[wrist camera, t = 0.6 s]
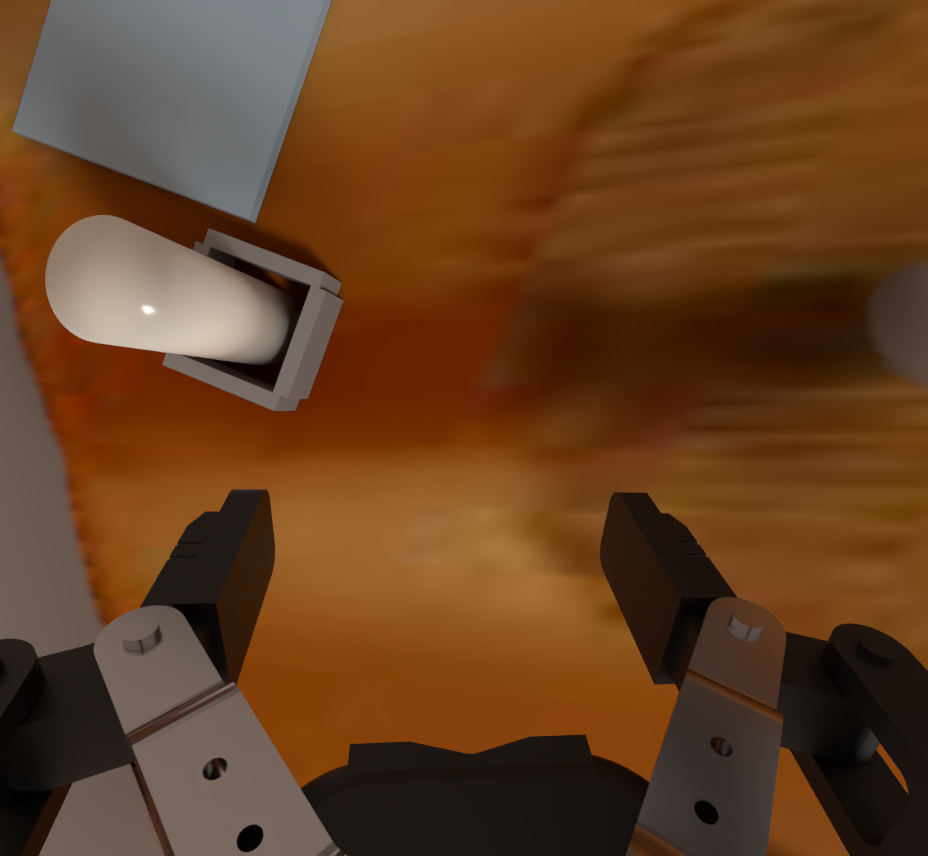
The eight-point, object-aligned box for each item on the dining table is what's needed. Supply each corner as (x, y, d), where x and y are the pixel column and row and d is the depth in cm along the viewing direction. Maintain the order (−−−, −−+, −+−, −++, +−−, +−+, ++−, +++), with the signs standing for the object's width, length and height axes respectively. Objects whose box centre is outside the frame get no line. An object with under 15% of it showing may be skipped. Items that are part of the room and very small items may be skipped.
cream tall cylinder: (243, 275, 37) (67, 197, 23) (314, 302, 36) (177, 239, 23) (217, 349, 37) (29, 317, 24) (287, 377, 37) (137, 361, 23)
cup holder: (228, 239, 37) (201, 225, 34) (348, 285, 36) (332, 275, 33) (185, 365, 38) (155, 361, 35) (302, 413, 37) (281, 414, 34)
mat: (103, -130, 37) (93, -142, 36) (350, -53, 35) (345, -64, 34) (22, 136, 39) (11, 130, 38) (255, 223, 37) (248, 219, 36)
